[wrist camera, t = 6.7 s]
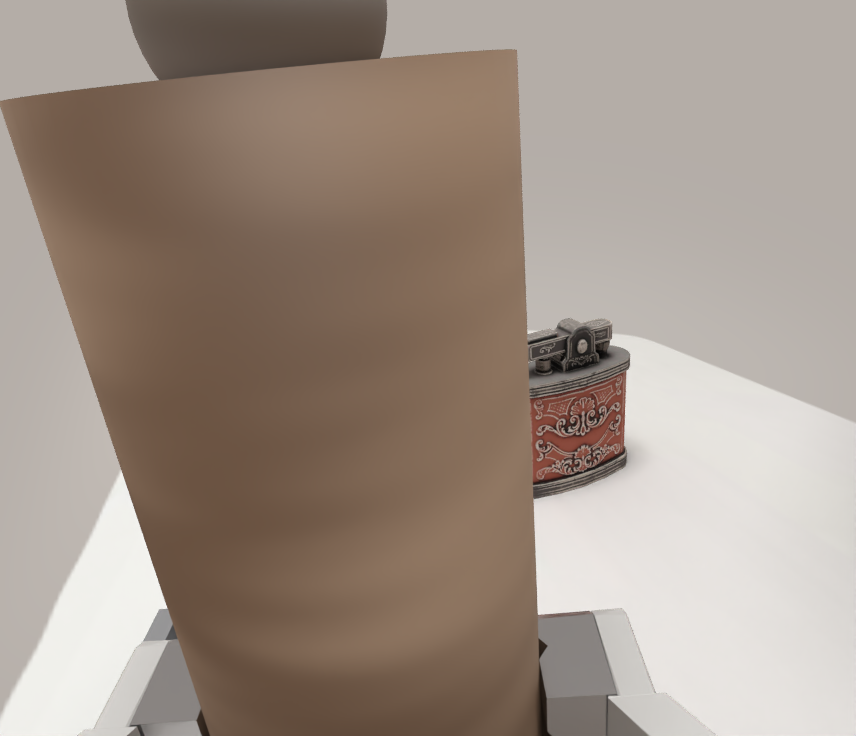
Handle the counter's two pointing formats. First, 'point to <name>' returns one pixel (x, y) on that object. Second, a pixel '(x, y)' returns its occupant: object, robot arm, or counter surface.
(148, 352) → the pepper mill
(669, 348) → the counter surface
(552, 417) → the lighter
